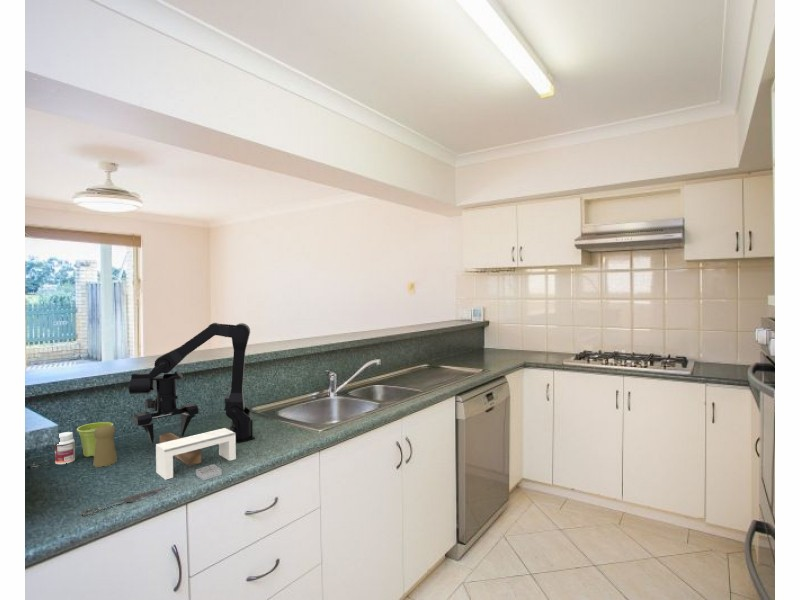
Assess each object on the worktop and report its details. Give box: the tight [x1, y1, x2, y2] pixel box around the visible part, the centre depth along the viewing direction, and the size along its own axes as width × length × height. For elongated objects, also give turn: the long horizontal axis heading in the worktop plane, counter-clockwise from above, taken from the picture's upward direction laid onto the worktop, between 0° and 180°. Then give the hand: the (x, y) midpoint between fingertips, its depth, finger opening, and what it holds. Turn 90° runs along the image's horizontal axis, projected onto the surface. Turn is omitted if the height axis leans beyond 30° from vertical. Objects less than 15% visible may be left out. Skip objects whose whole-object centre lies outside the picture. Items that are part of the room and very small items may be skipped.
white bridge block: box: [155, 427, 237, 481], centre depth 130 cm, size 20×7×8 cm, turn 137°
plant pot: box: [76, 421, 114, 458], centre depth 139 cm, size 9×9×9 cm
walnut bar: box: [159, 431, 202, 467], centre depth 139 cm, size 4×24×4 cm, turn 47°
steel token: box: [195, 463, 223, 481], centre depth 123 cm, size 5×5×2 cm
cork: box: [92, 425, 118, 468], centre depth 132 cm, size 6×6×11 cm
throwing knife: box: [81, 485, 174, 517], centre depth 109 cm, size 4×20×1 cm, turn 138°
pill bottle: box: [54, 431, 76, 465], centre depth 133 cm, size 5×5×8 cm
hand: (167, 439), depth 146 cm, fingers open, 9 cm apart
